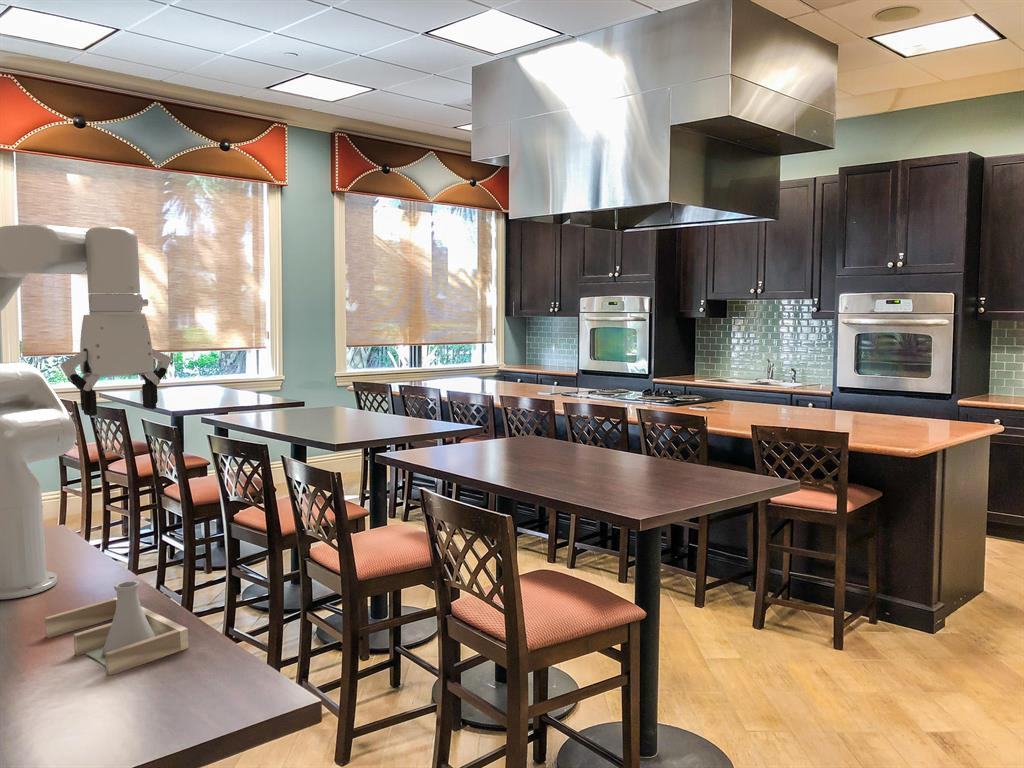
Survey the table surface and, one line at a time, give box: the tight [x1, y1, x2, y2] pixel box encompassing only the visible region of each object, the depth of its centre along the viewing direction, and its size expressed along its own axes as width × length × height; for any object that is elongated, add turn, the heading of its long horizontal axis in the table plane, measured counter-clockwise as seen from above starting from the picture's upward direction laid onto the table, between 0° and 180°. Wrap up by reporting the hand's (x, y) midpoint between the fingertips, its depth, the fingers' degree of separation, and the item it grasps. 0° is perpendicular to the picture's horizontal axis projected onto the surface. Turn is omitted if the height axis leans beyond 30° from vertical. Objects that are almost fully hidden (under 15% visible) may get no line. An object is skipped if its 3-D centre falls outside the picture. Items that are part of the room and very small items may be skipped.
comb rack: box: [44, 596, 190, 677], centre depth 125 cm, size 21×12×3 cm, turn 51°
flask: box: [102, 580, 155, 656], centre depth 122 cm, size 7×7×10 cm
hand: (120, 411), depth 135 cm, fingers open, 9 cm apart
